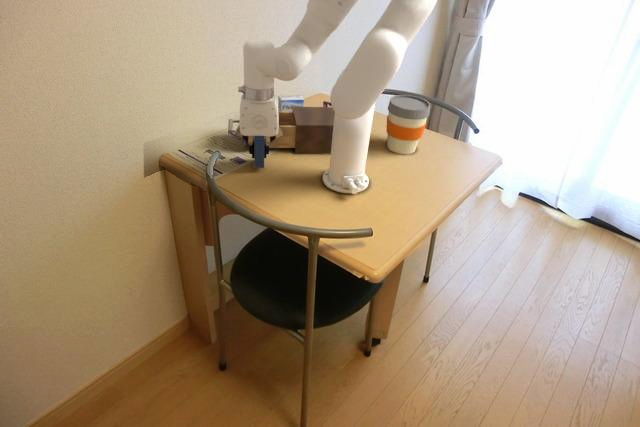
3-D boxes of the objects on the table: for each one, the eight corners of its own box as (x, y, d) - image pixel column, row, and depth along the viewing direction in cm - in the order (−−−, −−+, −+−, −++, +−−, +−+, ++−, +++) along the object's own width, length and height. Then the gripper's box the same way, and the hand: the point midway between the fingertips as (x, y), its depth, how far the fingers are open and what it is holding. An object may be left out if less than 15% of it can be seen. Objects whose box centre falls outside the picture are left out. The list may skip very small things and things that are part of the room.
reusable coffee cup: (400, 160, 134) (410, 113, 125) (373, 143, 141) (380, 98, 133) (429, 151, 140) (440, 106, 131) (401, 135, 148) (409, 92, 139)
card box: (254, 168, 121) (254, 138, 116) (254, 155, 127) (253, 126, 121) (264, 168, 122) (264, 138, 116) (263, 155, 127) (263, 126, 122)
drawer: (228, 150, 129) (227, 126, 125) (229, 131, 139) (228, 109, 135) (304, 150, 133) (305, 127, 128) (300, 131, 142) (301, 110, 138)
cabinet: (295, 153, 132) (296, 125, 127) (291, 133, 143) (292, 106, 138) (356, 153, 135) (359, 125, 130) (347, 133, 146) (350, 107, 141)
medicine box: (280, 125, 148) (280, 100, 142) (277, 119, 151) (278, 95, 146) (303, 124, 150) (304, 99, 145) (300, 118, 153) (301, 94, 148)
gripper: (226, 96, 108) (229, 162, 119) (292, 98, 111) (289, 162, 121) (227, 85, 114) (229, 149, 125) (289, 87, 117) (287, 149, 127)
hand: (259, 155), depth 123 cm, fingers closed on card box, 2 cm apart
